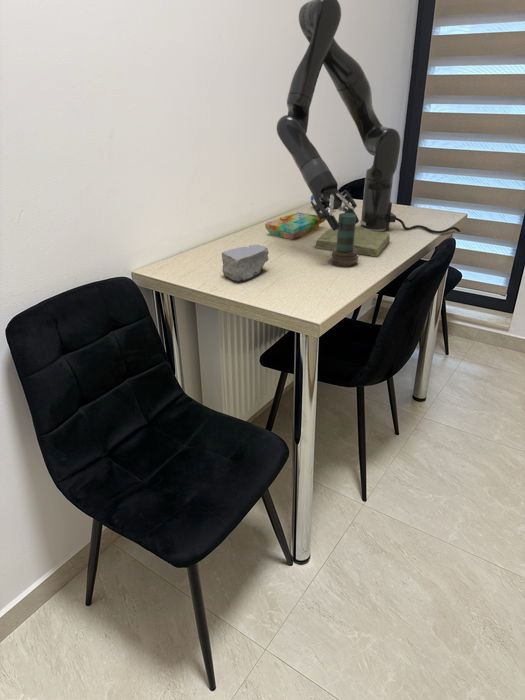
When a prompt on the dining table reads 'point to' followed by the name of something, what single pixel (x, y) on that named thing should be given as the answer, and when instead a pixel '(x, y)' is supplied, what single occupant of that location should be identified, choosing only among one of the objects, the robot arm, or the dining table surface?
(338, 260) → the chip pile
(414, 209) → the dining table surface
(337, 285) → the dining table surface
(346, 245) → the chip column
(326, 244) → the decorative tile
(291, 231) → the puzzle game
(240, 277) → the decorative stone
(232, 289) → the dining table surface
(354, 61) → the robot arm
